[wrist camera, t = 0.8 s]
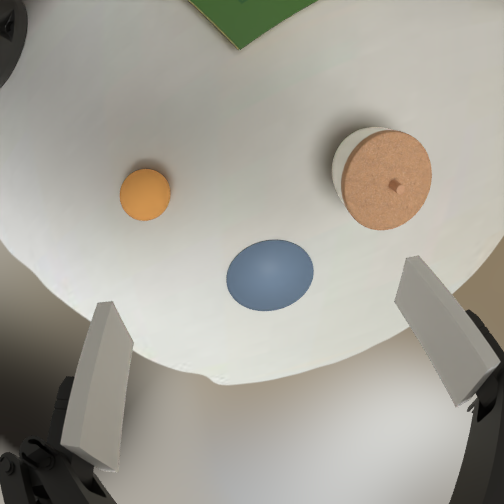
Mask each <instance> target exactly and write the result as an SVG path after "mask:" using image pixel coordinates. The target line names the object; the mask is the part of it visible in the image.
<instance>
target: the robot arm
mask: <svg viewBox="0 0 504 504" xmlns="http://www.w3.org/2000/svg"><path fill="white" fill-rule="evenodd" d="M26 31H27V14H26V9H25V6H24V4H23V2H22V1H21V0H0V87H1V86H2V85H3V84H4V83H5V81H6V80H7V79H8V77H9V76H10V74H11V72H12V71H13V69H14V67H15V65H16V63H17V61H18V59H19V56H20V54H21V51H22V48H23V45H24V41H25V37H26ZM394 302H395V304H396V305H397V307H398V308H399V310H400V311H401V313H402V315H403V316H404V318H405V319H406V321H407V322H408V324H409V326H410V327H411V329H412V330H413V332H414V334H415V335H416V337H417V339H418V340H419V342H420V344H421V345H422V347H423V348H424V350H425V352H426V354H427V355H428V357H429V359H430V361H431V362H432V364H433V366H434V368H435V369H436V371H437V373H438V375H439V377H440V378H441V380H442V382H443V384H444V386H445V388H446V389H447V391H448V393H449V395H450V397H451V399H452V401H453V403H454V405H455V407H458V406H460V405H462V404H463V403H465V402H467V401H469V400H470V398H471V397H472V396H473V395H474V394H475V393H476V395H477V398H476V400H475V401H474V402H473V403H472V404H471V405H470V406H469V407H468V409H467V412H469V411H470V410H471V409H472V408H473V407H474V410H473V411H472V413H473V417H472V423H471V428H470V433H469V437H468V442H467V446H466V450H465V454H464V458H463V462H462V466H461V469H460V472H459V476H458V479H457V482H456V485H455V489H454V492H453V495H452V497H451V500H450V503H449V504H504V352H503V350H502V349H501V347H500V346H499V344H498V343H497V341H496V340H495V339H494V337H493V336H492V334H490V333H489V330H488V329H487V327H485V326H484V323H483V322H482V321H481V319H480V318H479V317H478V316H477V315H476V314H474V313H473V312H472V311H470V310H467V311H464V309H463V308H462V307H461V305H460V304H459V303H458V302H457V300H456V299H455V298H454V297H453V295H452V294H451V293H450V292H449V290H448V289H447V288H446V287H445V285H444V284H443V283H442V282H441V281H440V279H439V278H438V277H437V276H436V275H435V274H434V272H433V271H432V270H431V269H430V268H429V267H428V265H427V264H426V263H425V262H424V261H423V260H422V259H421V258H420V256H414V257H409V258H406V261H405V265H404V269H403V272H402V276H401V280H400V284H399V287H398V291H397V294H396V297H395V301H394ZM133 345H134V342H133V340H132V338H131V336H130V334H129V333H128V331H127V329H126V327H125V325H124V323H123V321H122V319H121V317H120V315H119V313H118V311H117V309H116V307H115V305H114V303H113V301H110V302H101V303H97V306H96V309H95V312H94V315H93V318H92V321H91V324H90V327H89V330H88V333H87V337H86V339H85V343H84V346H83V350H82V353H81V356H80V360H79V363H78V367H77V371H76V374H75V377H66V378H65V379H64V381H63V382H62V384H61V385H60V387H59V391H58V395H57V401H56V402H55V407H54V408H55V410H54V411H53V415H52V420H51V424H50V429H49V434H48V439H47V442H45V441H44V440H43V439H41V438H39V437H38V436H29V437H27V438H26V439H25V440H24V441H23V442H22V444H21V446H20V450H19V455H20V457H17V456H16V455H14V454H12V453H10V452H6V453H4V454H2V455H1V457H0V484H1V489H2V494H3V498H4V502H5V504H117V503H116V502H115V501H114V499H113V498H112V497H111V495H110V494H109V493H108V491H107V490H106V488H105V487H104V486H103V485H102V483H101V481H100V480H99V479H98V477H97V476H96V475H95V474H94V473H93V469H94V467H96V468H98V469H100V470H102V471H110V472H119V457H120V444H121V432H122V422H123V413H124V405H125V397H126V388H127V381H128V374H129V369H130V362H131V356H132V350H133Z"/></svg>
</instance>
